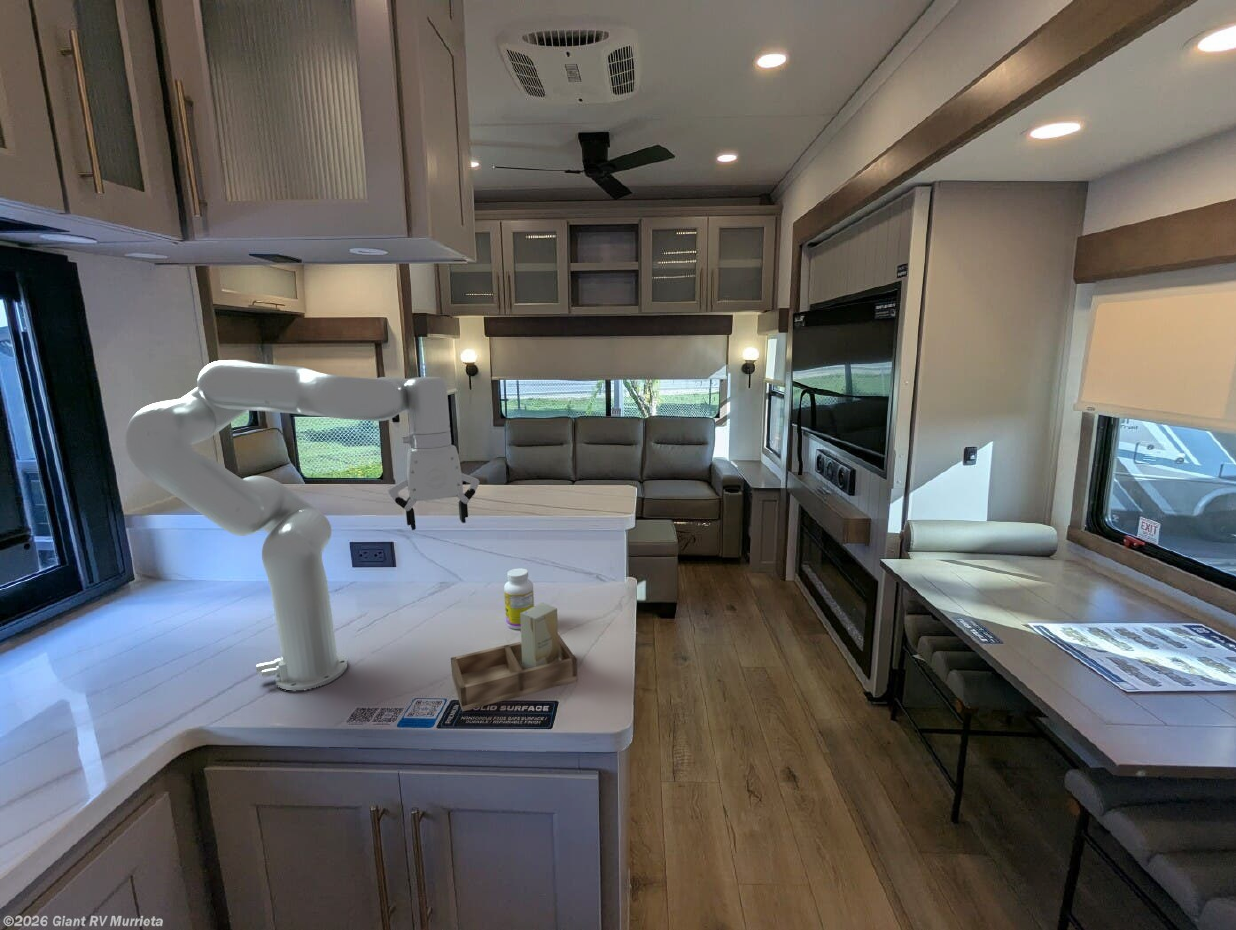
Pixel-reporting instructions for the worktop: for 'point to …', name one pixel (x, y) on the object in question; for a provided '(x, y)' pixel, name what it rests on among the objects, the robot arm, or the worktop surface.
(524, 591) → the supplement bottle
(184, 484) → the robot arm
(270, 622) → the worktop surface
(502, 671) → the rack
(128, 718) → the worktop surface
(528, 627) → the skincare box
